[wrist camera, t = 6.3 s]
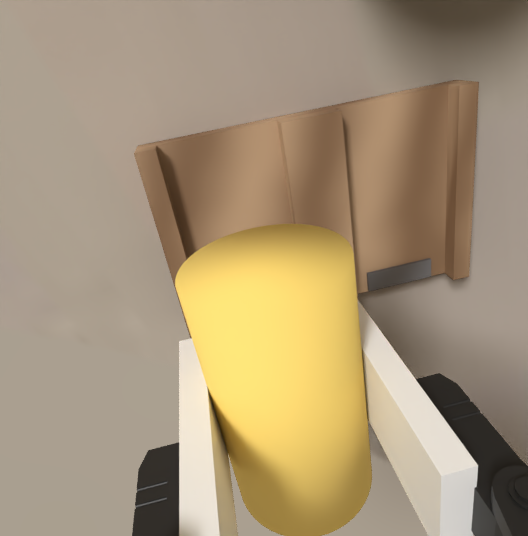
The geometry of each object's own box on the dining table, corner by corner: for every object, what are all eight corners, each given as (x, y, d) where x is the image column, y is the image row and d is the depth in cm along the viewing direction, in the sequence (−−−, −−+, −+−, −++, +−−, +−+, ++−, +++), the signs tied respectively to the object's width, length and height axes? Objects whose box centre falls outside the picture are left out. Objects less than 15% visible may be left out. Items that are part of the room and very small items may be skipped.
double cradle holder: (456, 80, 23) (478, 81, 22) (450, 262, 28) (468, 276, 27) (137, 145, 22) (134, 153, 20) (191, 324, 27) (192, 343, 25)
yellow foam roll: (375, 424, 16) (367, 550, 12) (259, 413, 17) (220, 524, 14) (360, 220, 12) (342, 316, 8) (213, 227, 13) (142, 313, 10)
